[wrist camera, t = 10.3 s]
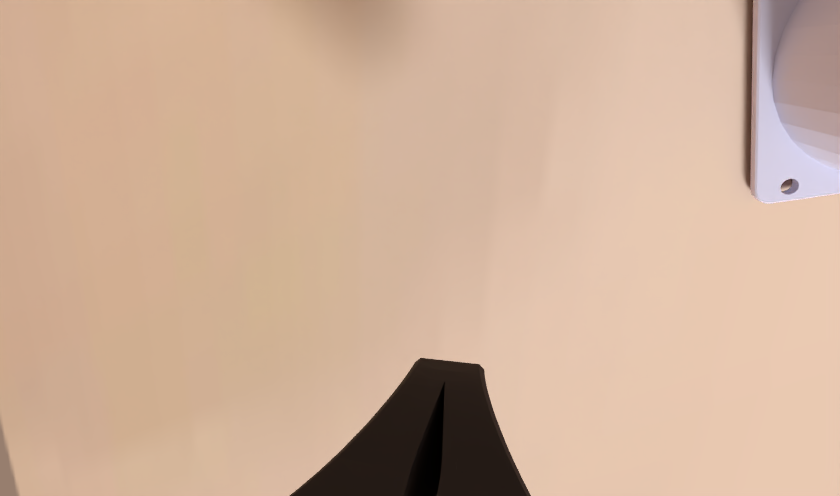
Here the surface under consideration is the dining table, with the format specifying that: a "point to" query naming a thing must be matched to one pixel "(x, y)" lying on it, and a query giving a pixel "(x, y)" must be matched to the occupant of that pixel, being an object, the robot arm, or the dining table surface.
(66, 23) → the dining table surface
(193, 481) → the dining table surface
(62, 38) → the dining table surface
